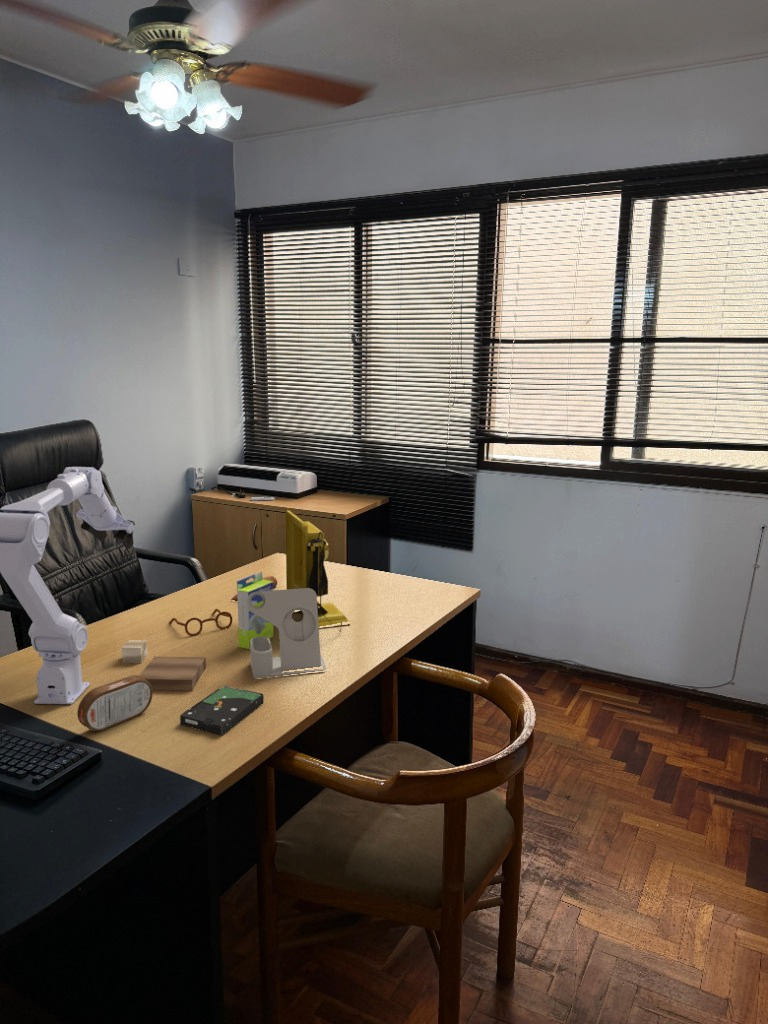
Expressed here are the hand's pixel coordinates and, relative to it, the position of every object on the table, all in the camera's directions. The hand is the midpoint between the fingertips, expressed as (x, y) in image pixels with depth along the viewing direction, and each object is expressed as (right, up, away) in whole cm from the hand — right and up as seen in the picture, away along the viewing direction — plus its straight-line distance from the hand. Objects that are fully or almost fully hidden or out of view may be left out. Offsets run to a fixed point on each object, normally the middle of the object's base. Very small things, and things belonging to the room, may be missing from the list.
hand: (117, 542), depth 173 cm
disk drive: (+33, -34, -29) cm, 56 cm away
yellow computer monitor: (+48, -23, +24) cm, 58 cm away
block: (+6, -28, -4) cm, 29 cm away
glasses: (+16, -24, +19) cm, 34 cm away
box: (+33, -26, +8) cm, 43 cm away
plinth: (+18, -30, -14) cm, 38 cm away
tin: (+13, -35, -33) cm, 50 cm away
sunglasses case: (+25, -19, +45) cm, 55 cm away
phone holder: (+43, -29, -7) cm, 52 cm away
